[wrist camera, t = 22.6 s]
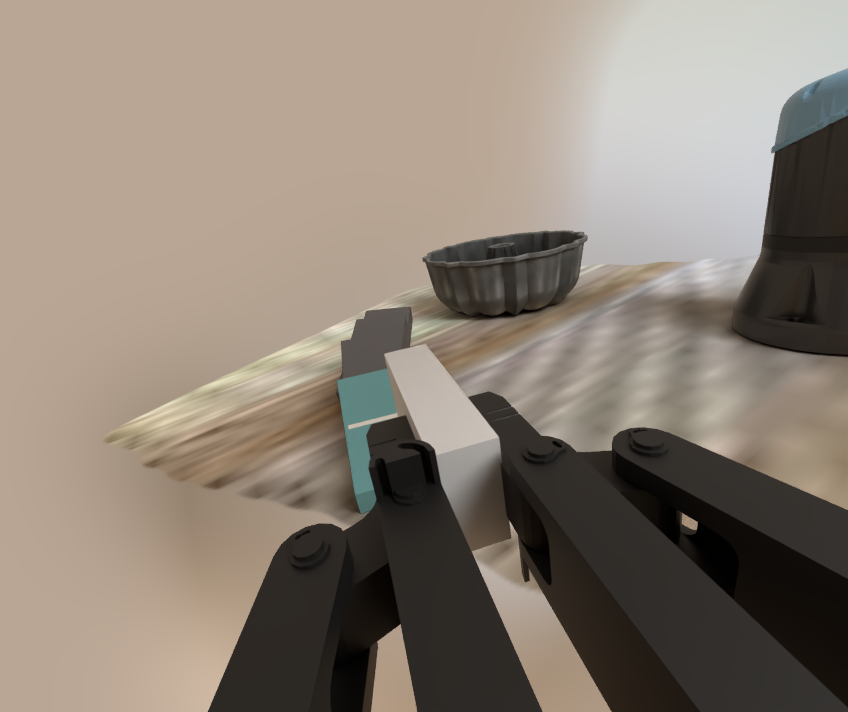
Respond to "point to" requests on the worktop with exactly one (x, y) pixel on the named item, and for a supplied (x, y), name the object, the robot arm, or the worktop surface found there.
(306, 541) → the robot arm
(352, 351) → the black tile
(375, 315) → the black tile
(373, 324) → the black tile
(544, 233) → the bundt pan
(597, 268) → the worktop surface
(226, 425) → the worktop surface
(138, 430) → the worktop surface
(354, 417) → the teal tile
